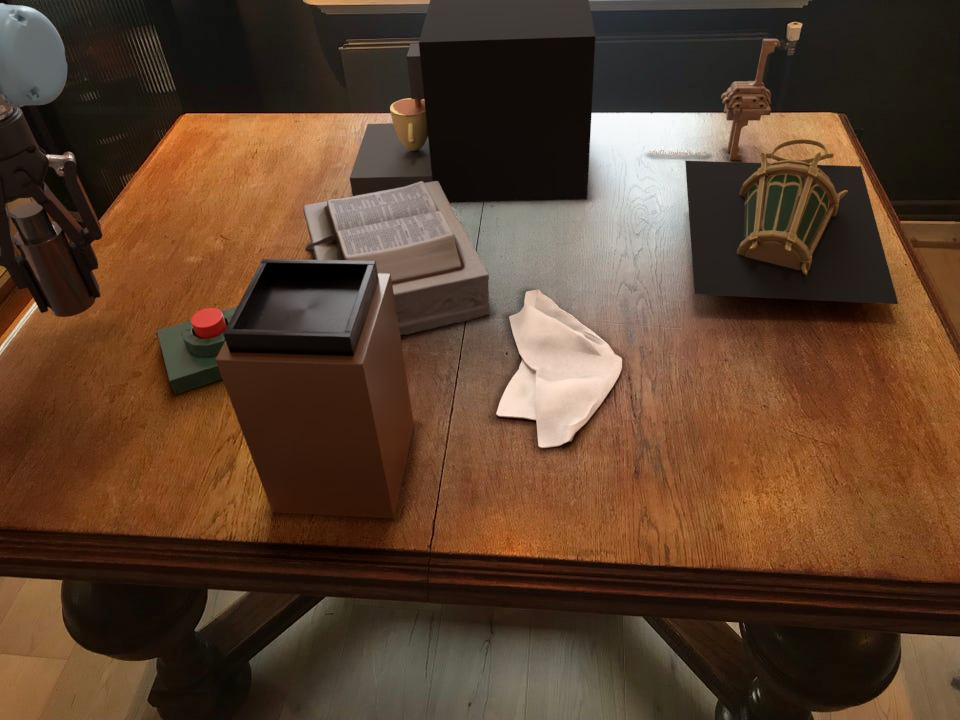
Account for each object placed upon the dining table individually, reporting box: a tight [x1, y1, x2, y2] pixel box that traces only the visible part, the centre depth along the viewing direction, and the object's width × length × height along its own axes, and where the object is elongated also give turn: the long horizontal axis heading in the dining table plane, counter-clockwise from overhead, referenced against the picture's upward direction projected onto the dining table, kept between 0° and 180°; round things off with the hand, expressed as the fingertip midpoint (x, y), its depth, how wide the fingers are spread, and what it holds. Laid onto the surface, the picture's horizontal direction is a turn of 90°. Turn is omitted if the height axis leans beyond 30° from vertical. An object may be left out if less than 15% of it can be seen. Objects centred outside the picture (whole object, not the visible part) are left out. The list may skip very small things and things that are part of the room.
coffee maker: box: [349, 0, 596, 203], centre depth 114 cm, size 18×35×24 cm, turn 88°
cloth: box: [495, 288, 623, 449], centre depth 88 cm, size 26×14×2 cm, turn 172°
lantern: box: [684, 138, 899, 305], centre depth 99 cm, size 14×23×30 cm
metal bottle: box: [8, 201, 96, 318], centre depth 89 cm, size 5×5×13 cm
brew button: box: [190, 307, 226, 339], centre depth 90 cm, size 4×4×2 cm
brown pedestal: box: [215, 258, 415, 520], centre depth 71 cm, size 12×12×22 cm
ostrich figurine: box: [649, 38, 781, 161], centre depth 117 cm, size 17×7×18 cm, turn 84°
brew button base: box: [156, 305, 238, 395], centre depth 91 cm, size 12×10×4 cm
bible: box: [302, 181, 491, 336], centre depth 99 cm, size 23×27×10 cm
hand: (70, 298), depth 93 cm, fingers closed on metal bottle, 5 cm apart
